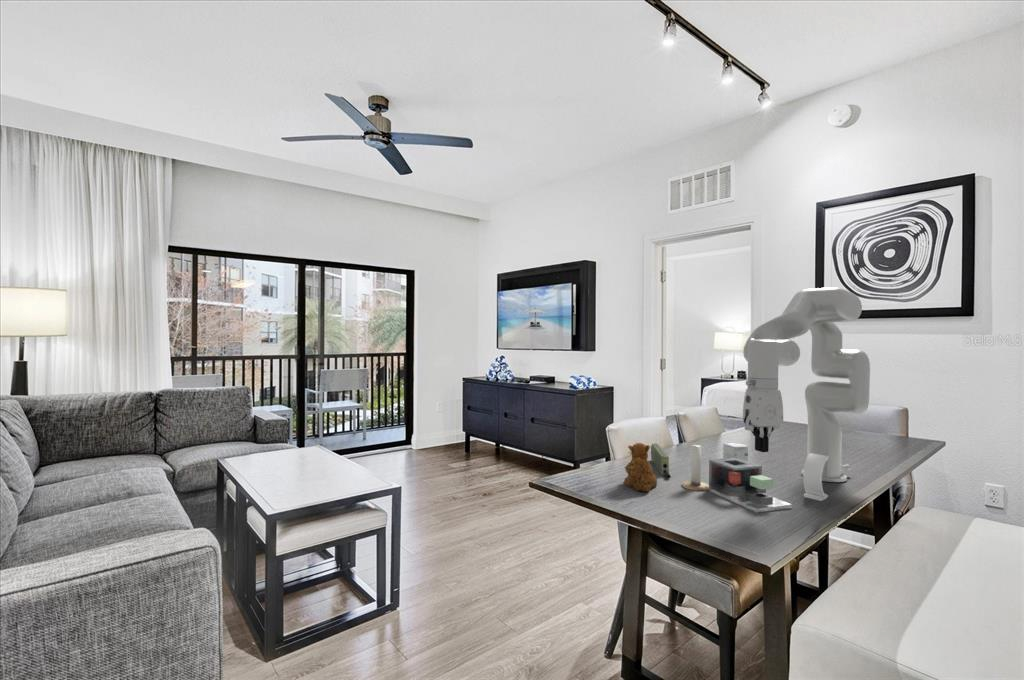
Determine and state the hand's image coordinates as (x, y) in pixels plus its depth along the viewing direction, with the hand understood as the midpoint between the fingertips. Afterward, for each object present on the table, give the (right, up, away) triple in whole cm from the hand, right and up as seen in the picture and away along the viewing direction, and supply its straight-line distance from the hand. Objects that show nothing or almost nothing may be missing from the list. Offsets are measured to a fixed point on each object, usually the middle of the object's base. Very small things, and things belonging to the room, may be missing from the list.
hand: (761, 450), depth 135 cm
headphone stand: (+19, -15, +7) cm, 25 cm away
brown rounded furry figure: (-29, -15, +15) cm, 36 cm away
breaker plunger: (-3, -13, +10) cm, 17 cm away
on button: (0, -11, 0) cm, 11 cm away
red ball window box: (-2, -15, +5) cm, 16 cm away
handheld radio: (-17, -15, +35) cm, 42 cm away
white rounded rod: (-12, -14, +16) cm, 24 cm away
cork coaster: (-12, -15, +16) cm, 25 cm away
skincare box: (+12, -15, +42) cm, 46 cm away
